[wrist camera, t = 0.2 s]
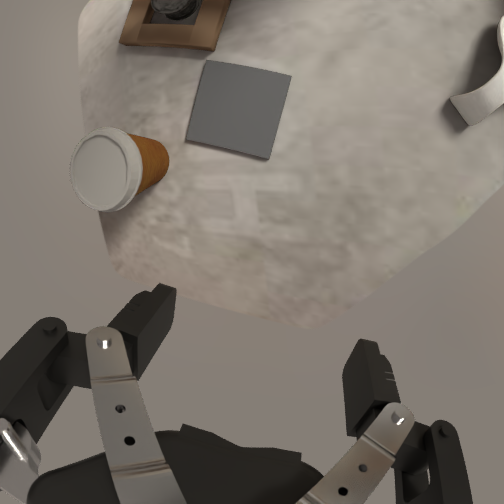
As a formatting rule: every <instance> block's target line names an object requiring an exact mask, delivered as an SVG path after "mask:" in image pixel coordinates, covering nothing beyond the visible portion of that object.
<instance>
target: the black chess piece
mask: <svg viewBox="0 0 504 504" xmlns="http://www.w3.org/2000/svg"><path fill="white" fill-rule="evenodd" d="M198 4H199V0H151V5H152V8H153V9H154V10H155V11H156V12H158V13H161V14H165V15H166V16H167V18H169V19H172V20H181V19H185V18H187V17H189V16H190V15H191V14H193V13H194V12H195V10H196V9H197V7H198Z"/></svg>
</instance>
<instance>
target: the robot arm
mask: <svg viewBox="0 0 504 504" xmlns="http://www.w3.org/2000/svg"><path fill="white" fill-rule="evenodd" d="M175 301H176V288H174V287H170V286H167V285H164V284H161V283H159V284H158V285H157V286H156V287H155V288H154V289H153V291H152V292H148V291H143V292H141V293H138V294H136V295H135V296H134V297H133V298H132V299H131V300H130V302H129V303H127V305H126V306H125V307H124V308H123V309H122V310H121V311H120V312H119V313H118V314H117V316H116V317H115V318H114V319H113V320H112V321H111V322H110V323H109V325H108V326H107V327H105V326H102V327H96V328H94V329H92V330H90V331H89V332H88V333H87V334H81V333H75V332H69V331H67V326H66V324H65V322H64V321H62V320H61V319H59V318H55V317H46V318H43V319H40V320H39V321H38V322H36V324H34V325H33V326H32V327H31V328H30V329H29V330H28V331H27V332H26V334H24V335H23V337H22V338H21V339H20V340H19V341H18V342H17V343H16V344H15V345H14V346H13V347H12V348H11V349H10V350H9V351H8V352H7V353H6V354H5V356H4V357H3V358H2V359H1V360H0V491H4V492H5V493H7V494H8V495H10V496H11V497H13V498H14V499H16V500H17V501H18V502H20V503H21V504H364V502H365V501H366V500H367V498H368V497H369V496H370V495H371V493H372V492H373V491H374V489H375V488H376V487H377V485H378V484H379V482H380V481H381V480H382V478H383V477H384V476H385V474H386V473H387V471H388V470H389V468H390V467H391V468H394V473H395V490H396V504H473V501H472V495H471V490H470V485H469V480H468V475H467V470H466V466H465V461H464V457H463V453H462V449H461V446H460V441H459V437H458V434H457V431H456V429H455V428H454V427H453V425H452V424H450V423H449V422H447V421H444V420H437V421H435V422H434V423H433V424H432V425H431V426H430V427H429V426H427V425H424V424H421V423H418V422H416V421H415V419H414V415H413V413H412V412H411V411H410V409H408V407H406V406H405V405H403V404H401V401H400V397H399V394H398V390H397V386H396V382H395V381H394V380H395V379H394V375H393V371H392V368H391V364H390V363H389V361H388V360H387V358H386V357H385V356H384V355H381V354H380V351H379V348H378V344H377V343H376V342H374V341H369V340H365V339H359V340H358V342H357V344H356V345H355V347H354V349H353V351H352V353H351V355H350V357H349V358H348V360H347V362H346V364H345V366H344V369H343V374H342V376H343V377H342V379H343V390H344V402H345V415H346V430H347V436H352V437H357V442H356V443H355V444H354V445H353V446H352V447H351V448H350V449H349V451H348V452H347V453H346V454H345V455H344V456H343V457H342V458H341V459H340V460H339V461H338V463H337V464H336V465H335V466H334V467H333V468H332V469H331V470H330V471H329V472H328V473H327V474H326V475H325V476H323V475H322V474H321V473H320V472H319V471H318V470H316V469H315V468H313V467H312V466H310V465H308V464H306V463H305V462H302V461H301V453H299V452H293V451H288V450H282V449H277V448H249V447H248V448H247V447H240V446H237V445H235V444H233V443H231V442H229V441H227V440H225V439H223V438H221V437H219V436H217V435H216V434H214V433H212V432H208V431H205V430H202V429H198V428H195V427H192V426H189V425H186V424H183V425H182V427H181V429H180V431H172V430H167V431H158V432H154V430H153V428H152V425H151V422H150V419H149V416H148V413H147V410H146V407H145V405H144V401H143V398H142V395H141V392H140V389H139V386H138V382H137V381H138V380H139V379H140V377H141V375H142V374H143V372H144V371H145V369H146V367H147V366H148V364H149V363H150V361H151V359H152V357H153V356H154V354H155V353H156V351H157V350H158V348H159V346H160V345H161V343H162V341H163V340H164V338H165V337H166V335H167V334H168V332H169V330H170V328H171V325H172V322H173V318H174V310H175ZM73 386H79V387H83V388H89V389H92V393H93V399H94V405H95V410H96V414H97V420H98V424H99V429H100V433H101V437H102V441H103V445H104V449H105V452H103V453H100V454H98V455H95V456H92V457H89V458H87V459H84V460H81V461H78V462H76V463H73V464H70V465H67V466H64V467H61V468H58V469H55V470H52V471H48V472H46V473H44V474H42V475H41V476H39V475H38V467H39V464H40V461H41V453H40V450H39V448H38V447H37V445H36V444H37V442H38V441H39V439H40V437H41V436H42V434H43V432H44V431H45V429H46V428H47V426H48V425H49V423H50V421H51V420H52V418H53V417H54V415H55V414H56V412H57V411H58V409H59V408H60V406H61V404H62V403H63V401H64V400H65V398H66V397H67V395H68V394H69V392H70V391H71V389H72V388H73ZM428 468H429V473H430V484H429V481H428V474H427V469H428Z"/></svg>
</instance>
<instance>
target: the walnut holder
mask: <svg viewBox="0 0 504 504" xmlns="http://www.w3.org/2000/svg"><path fill="white" fill-rule="evenodd" d="M230 1H231V0H203V2H202V4H201V7H200V10H199V13H198V16H197V19H196V22H195V25H182V24H150V22H151V19H152V16H153V13H154V9H153V8H152V5H151V0H133V3H132V5H131V8H130V11H129V13H128V16H127V19H126V22H125V25H124V28H123V31H122V34H121V37H120V40H119V43H121V44H123V45H126V46H160V47H176V48H188V49H198V50H207V51H215V48H216V45H217V41H218V38H219V35H220V32H221V28H222V25H223V22H224V19H225V16H226V13H227V10H228V7H229V4H230Z"/></svg>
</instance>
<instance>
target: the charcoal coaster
mask: <svg viewBox="0 0 504 504" xmlns="http://www.w3.org/2000/svg"><path fill="white" fill-rule="evenodd" d="M291 77H292V76H290V75H286V74H281V73H277V72H272V71H268V70H263V69H258V68H253V67H248V66H242V65H237V64H231V63H224V62H218V61H211V60H206V64H205V67H204V71H203V74H202V78H201V82H200V85H199V89H198V93H197V97H196V101H195V104H194V108H193V112H192V117H191V121H190V125H189V129H188V133H187V138H186V139H187V140H192V141H197V142H201V143H206V144H210V145H214V146H219V147H223V148H227V149H231V150H236V151H240V152H244V153H247V154H251V155H255V156H259V157H263V158H267V159H269V158H270V155H271V151H272V147H273V143H274V140H275V136H276V132H277V129H278V125H279V121H280V118H281V114H282V110H283V107H284V103H285V99H286V96H287V92H288V88H289V85H290V81H291Z"/></svg>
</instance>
